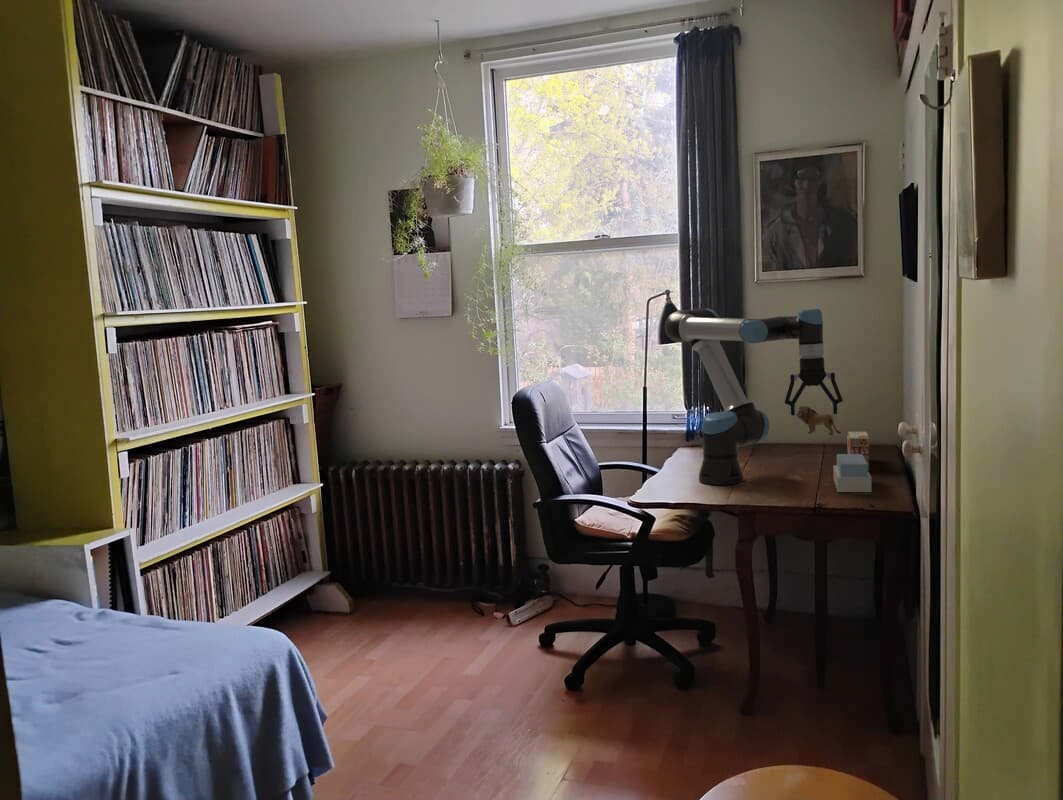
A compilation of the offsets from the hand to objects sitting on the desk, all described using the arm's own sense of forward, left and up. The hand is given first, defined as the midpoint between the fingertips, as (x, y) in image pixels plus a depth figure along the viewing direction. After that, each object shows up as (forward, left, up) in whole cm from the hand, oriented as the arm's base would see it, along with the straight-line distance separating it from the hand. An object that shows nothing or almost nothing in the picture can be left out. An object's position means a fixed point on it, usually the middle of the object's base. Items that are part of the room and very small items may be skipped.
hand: (814, 424), depth 275 cm
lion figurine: (+1, -1, -3) cm, 3 cm away
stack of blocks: (+16, +33, -21) cm, 42 cm away
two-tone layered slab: (+11, +1, -21) cm, 23 cm away
